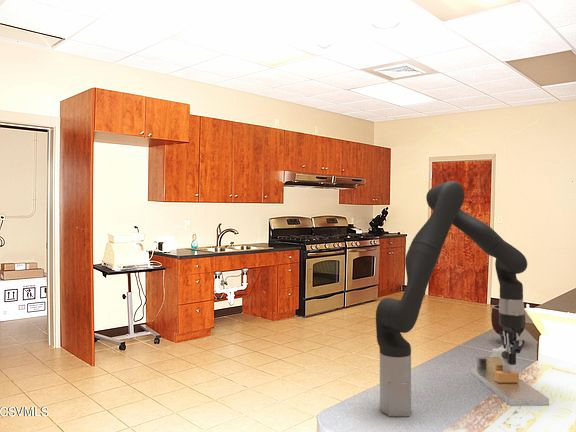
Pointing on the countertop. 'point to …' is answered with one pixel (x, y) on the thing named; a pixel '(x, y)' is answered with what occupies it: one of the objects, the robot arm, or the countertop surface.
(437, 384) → the countertop surface
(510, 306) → the robot arm
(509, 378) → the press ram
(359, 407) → the countertop surface
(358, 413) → the countertop surface
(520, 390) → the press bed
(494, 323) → the mate gourd
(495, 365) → the block
